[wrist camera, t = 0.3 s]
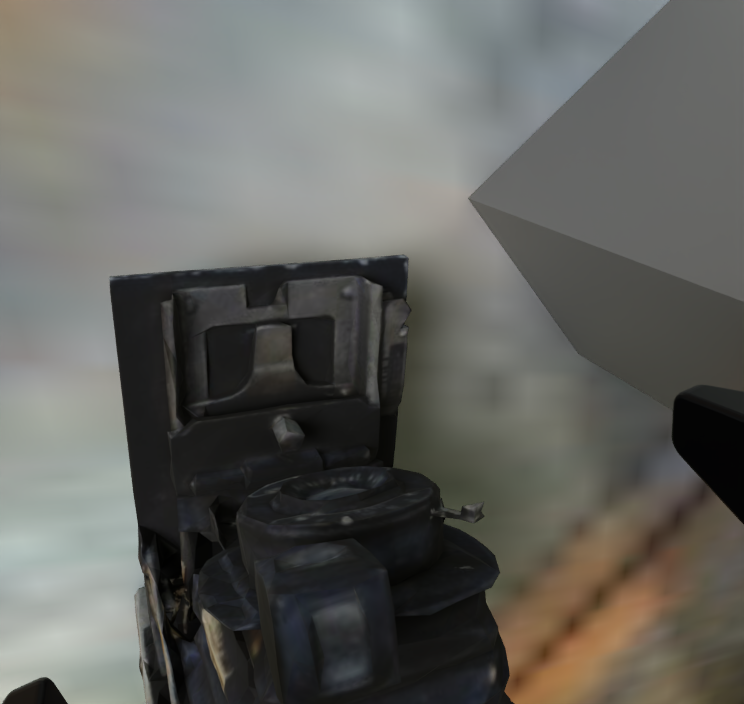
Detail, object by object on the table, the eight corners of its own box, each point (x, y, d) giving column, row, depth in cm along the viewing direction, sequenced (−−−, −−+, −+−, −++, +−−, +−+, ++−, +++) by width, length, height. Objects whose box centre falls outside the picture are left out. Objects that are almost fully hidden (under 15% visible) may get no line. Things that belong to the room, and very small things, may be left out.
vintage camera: (381, 228, 24) (1166, 628, 6) (372, 588, 29) (777, 1319, 12) (80, 244, 20) (21, 1157, 3) (134, 646, 26) (221, 1770, 9)
